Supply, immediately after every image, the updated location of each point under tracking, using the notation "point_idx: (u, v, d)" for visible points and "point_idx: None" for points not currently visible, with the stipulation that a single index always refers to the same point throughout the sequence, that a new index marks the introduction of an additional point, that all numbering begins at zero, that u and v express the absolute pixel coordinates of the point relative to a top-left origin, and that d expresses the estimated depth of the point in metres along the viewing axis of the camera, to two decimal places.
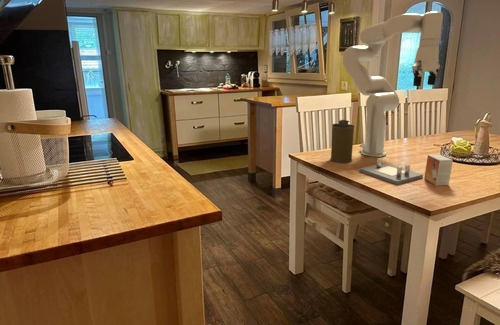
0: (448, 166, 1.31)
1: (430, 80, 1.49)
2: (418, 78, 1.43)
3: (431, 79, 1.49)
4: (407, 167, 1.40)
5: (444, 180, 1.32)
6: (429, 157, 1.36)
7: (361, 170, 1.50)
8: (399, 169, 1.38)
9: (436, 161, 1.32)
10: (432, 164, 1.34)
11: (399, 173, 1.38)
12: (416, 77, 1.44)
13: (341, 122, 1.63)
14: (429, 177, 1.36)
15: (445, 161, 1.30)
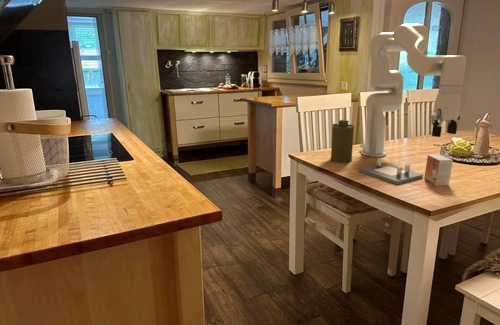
0: (448, 166, 1.31)
1: (450, 128, 1.33)
2: (438, 128, 1.27)
3: (452, 127, 1.32)
4: (407, 167, 1.40)
5: (444, 180, 1.32)
6: (429, 157, 1.36)
7: (361, 170, 1.50)
8: (399, 169, 1.38)
9: (436, 161, 1.32)
10: (432, 164, 1.34)
11: (399, 173, 1.38)
12: (435, 127, 1.27)
13: (341, 122, 1.63)
14: (429, 177, 1.36)
15: (445, 161, 1.30)
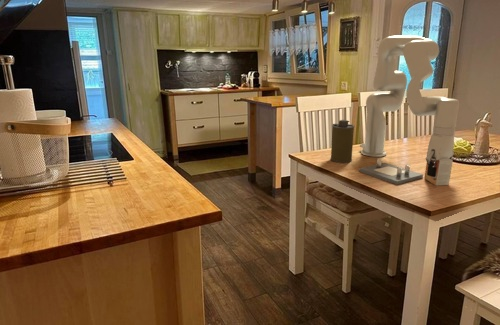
0: (448, 165, 1.31)
1: None
2: (433, 169, 1.32)
3: None
4: (407, 167, 1.40)
5: (444, 179, 1.32)
6: None
7: (361, 170, 1.50)
8: (399, 169, 1.38)
9: None
10: None
11: (399, 173, 1.38)
12: (430, 167, 1.32)
13: (341, 122, 1.63)
14: (429, 177, 1.36)
15: (445, 161, 1.30)
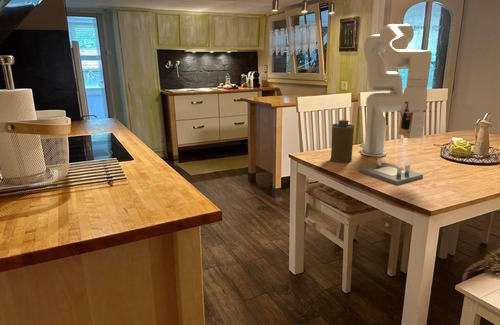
0: (421, 118, 1.32)
1: None
2: (406, 121, 1.33)
3: None
4: (407, 167, 1.40)
5: (417, 132, 1.34)
6: None
7: (361, 170, 1.50)
8: (399, 169, 1.38)
9: None
10: None
11: (399, 173, 1.38)
12: (404, 120, 1.34)
13: (341, 122, 1.63)
14: (403, 131, 1.38)
15: (418, 113, 1.31)
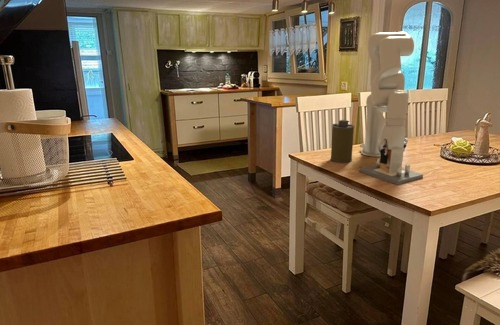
0: (399, 155, 1.40)
1: None
2: (384, 156, 1.41)
3: None
4: (407, 167, 1.40)
5: (396, 168, 1.42)
6: None
7: (361, 170, 1.50)
8: (399, 169, 1.38)
9: (389, 150, 1.41)
10: None
11: (399, 173, 1.38)
12: (382, 155, 1.41)
13: (341, 122, 1.63)
14: (383, 166, 1.46)
15: (396, 150, 1.40)
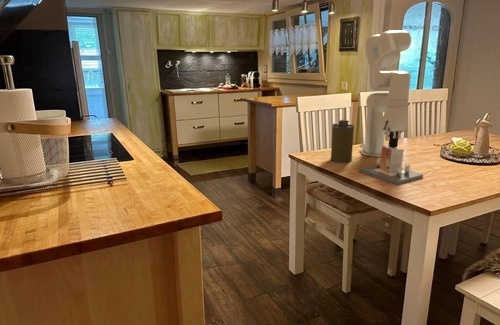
0: (399, 155, 1.40)
1: None
2: (393, 140, 1.41)
3: None
4: (407, 167, 1.40)
5: (396, 168, 1.42)
6: (383, 147, 1.45)
7: (361, 170, 1.50)
8: (399, 169, 1.38)
9: (389, 150, 1.41)
10: (385, 154, 1.44)
11: (399, 173, 1.38)
12: (391, 139, 1.41)
13: (341, 122, 1.63)
14: (383, 166, 1.46)
15: (396, 150, 1.40)
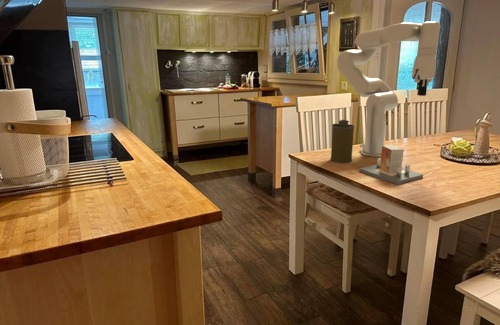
0: (399, 155, 1.40)
1: None
2: (422, 88, 1.49)
3: None
4: (407, 167, 1.40)
5: (396, 168, 1.42)
6: (383, 147, 1.45)
7: (361, 170, 1.50)
8: (399, 169, 1.38)
9: (389, 150, 1.41)
10: (385, 154, 1.44)
11: (399, 173, 1.38)
12: (420, 87, 1.50)
13: (341, 122, 1.63)
14: (383, 166, 1.46)
15: (396, 150, 1.40)
